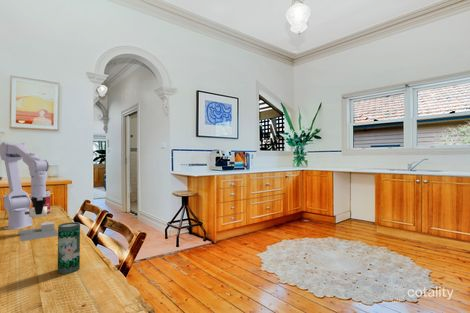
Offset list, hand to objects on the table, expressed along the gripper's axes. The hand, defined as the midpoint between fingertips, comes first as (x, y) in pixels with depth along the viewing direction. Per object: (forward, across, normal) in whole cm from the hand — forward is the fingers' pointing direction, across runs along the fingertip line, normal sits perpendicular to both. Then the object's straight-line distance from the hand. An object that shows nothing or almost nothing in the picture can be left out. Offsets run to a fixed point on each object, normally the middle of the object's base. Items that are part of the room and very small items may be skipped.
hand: (38, 213), depth 129 cm
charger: (+9, +3, -4) cm, 10 cm away
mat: (+9, -2, 0) cm, 10 cm away
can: (+10, -57, -4) cm, 58 cm away
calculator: (+10, +46, -6) cm, 47 cm away
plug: (+1, 0, 0) cm, 1 cm away
